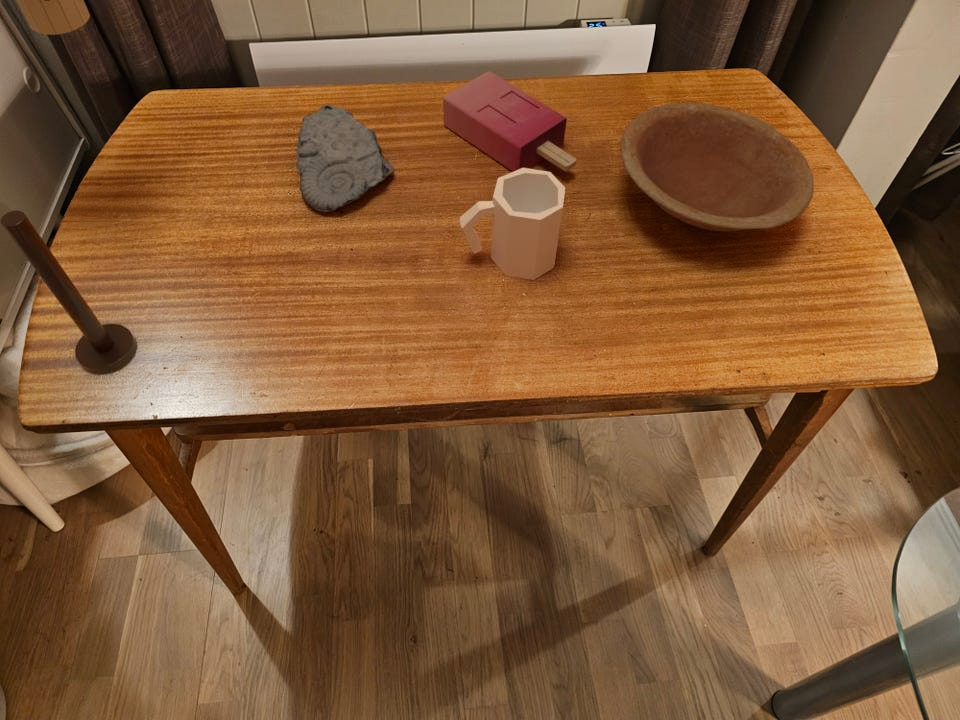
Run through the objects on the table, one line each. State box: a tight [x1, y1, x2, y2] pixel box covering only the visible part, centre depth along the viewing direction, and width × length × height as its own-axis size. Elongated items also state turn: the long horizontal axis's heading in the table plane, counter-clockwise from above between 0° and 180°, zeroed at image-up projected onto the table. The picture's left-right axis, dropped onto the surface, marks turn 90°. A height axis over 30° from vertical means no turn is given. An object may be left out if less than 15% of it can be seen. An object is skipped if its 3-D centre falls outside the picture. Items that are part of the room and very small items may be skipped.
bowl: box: [619, 102, 815, 232], centre depth 89 cm, size 24×24×8 cm
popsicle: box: [442, 70, 577, 172], centre depth 97 cm, size 9×5×20 cm
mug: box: [459, 168, 566, 281], centre depth 83 cm, size 12×9×10 cm
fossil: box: [295, 104, 395, 213], centre depth 94 cm, size 13×18×4 cm
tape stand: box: [0, 209, 138, 375], centre depth 70 cm, size 6×6×20 cm
